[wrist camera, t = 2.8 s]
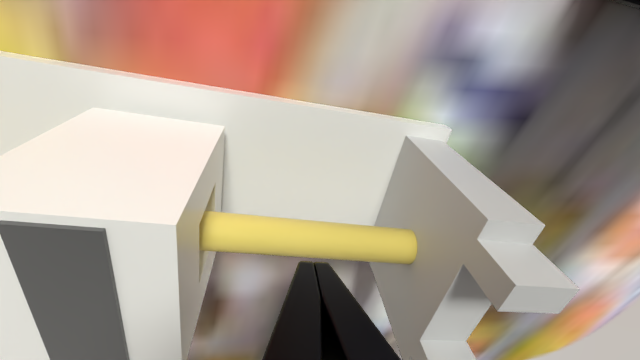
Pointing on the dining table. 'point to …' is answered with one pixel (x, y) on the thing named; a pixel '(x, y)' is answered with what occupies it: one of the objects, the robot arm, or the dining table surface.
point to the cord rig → (330, 195)
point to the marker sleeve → (107, 237)
